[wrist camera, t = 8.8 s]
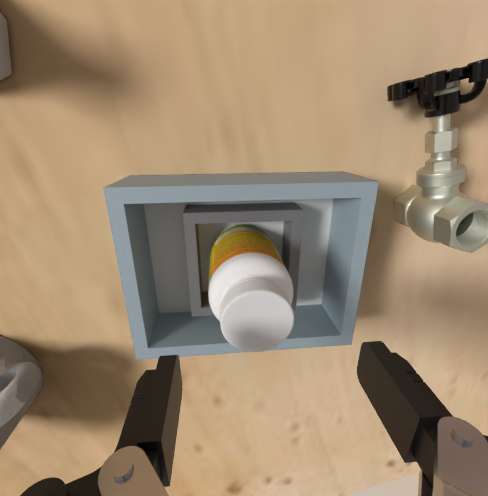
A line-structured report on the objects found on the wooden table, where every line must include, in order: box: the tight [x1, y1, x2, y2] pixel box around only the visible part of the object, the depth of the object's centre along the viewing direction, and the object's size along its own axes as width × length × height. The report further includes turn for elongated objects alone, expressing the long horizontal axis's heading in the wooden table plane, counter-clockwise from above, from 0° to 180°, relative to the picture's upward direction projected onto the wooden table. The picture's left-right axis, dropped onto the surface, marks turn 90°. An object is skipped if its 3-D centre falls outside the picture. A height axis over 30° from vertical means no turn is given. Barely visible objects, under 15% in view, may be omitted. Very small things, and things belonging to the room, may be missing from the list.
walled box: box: [104, 172, 379, 360], centre depth 22 cm, size 13×17×6 cm
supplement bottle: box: [208, 224, 294, 352], centre depth 19 cm, size 5×5×10 cm
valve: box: [387, 58, 488, 253], centre depth 20 cm, size 7×7×12 cm
